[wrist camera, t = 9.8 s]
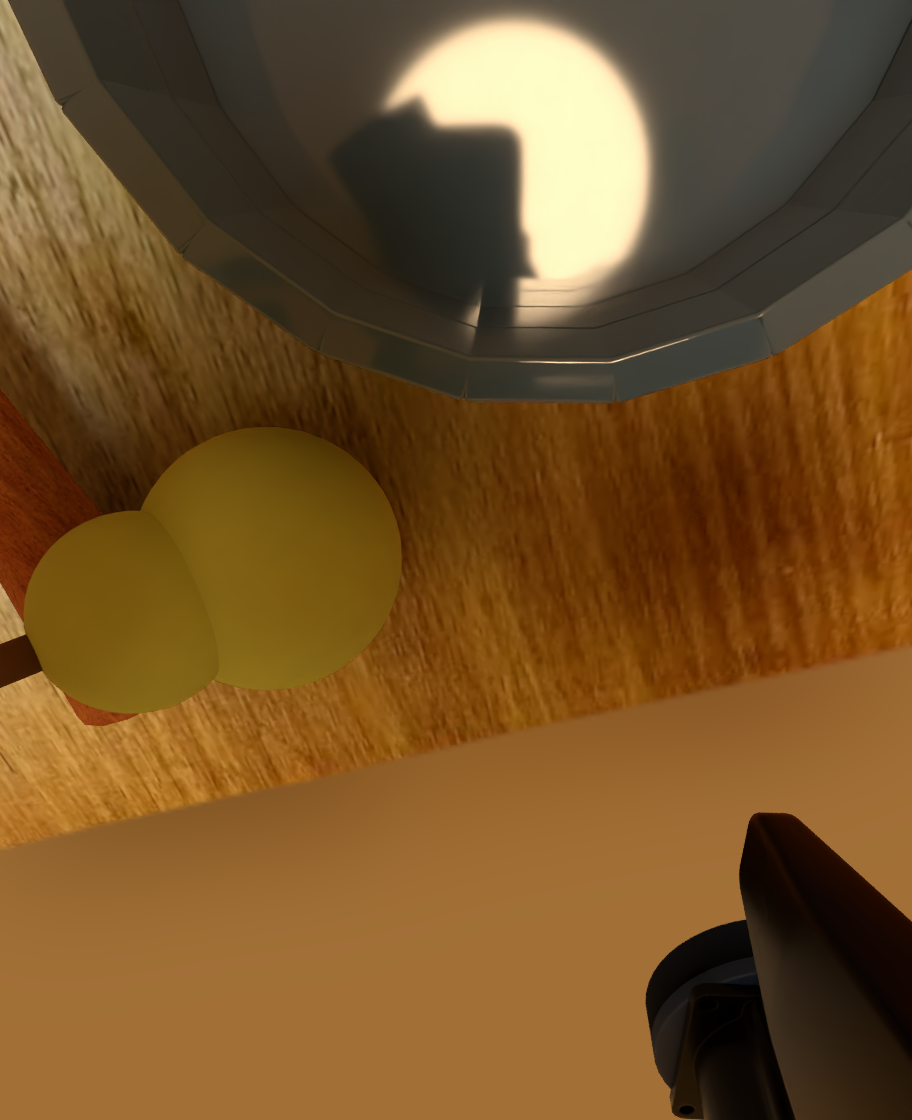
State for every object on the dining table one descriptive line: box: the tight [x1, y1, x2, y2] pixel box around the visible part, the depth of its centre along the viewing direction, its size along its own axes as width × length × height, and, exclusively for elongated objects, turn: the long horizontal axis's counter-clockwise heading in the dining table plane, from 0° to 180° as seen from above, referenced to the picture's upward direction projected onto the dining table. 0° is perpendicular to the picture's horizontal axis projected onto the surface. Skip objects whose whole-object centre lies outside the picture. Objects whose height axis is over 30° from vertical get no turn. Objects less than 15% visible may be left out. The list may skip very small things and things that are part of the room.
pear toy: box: [0, 427, 402, 714], centre depth 15 cm, size 5×5×9 cm
